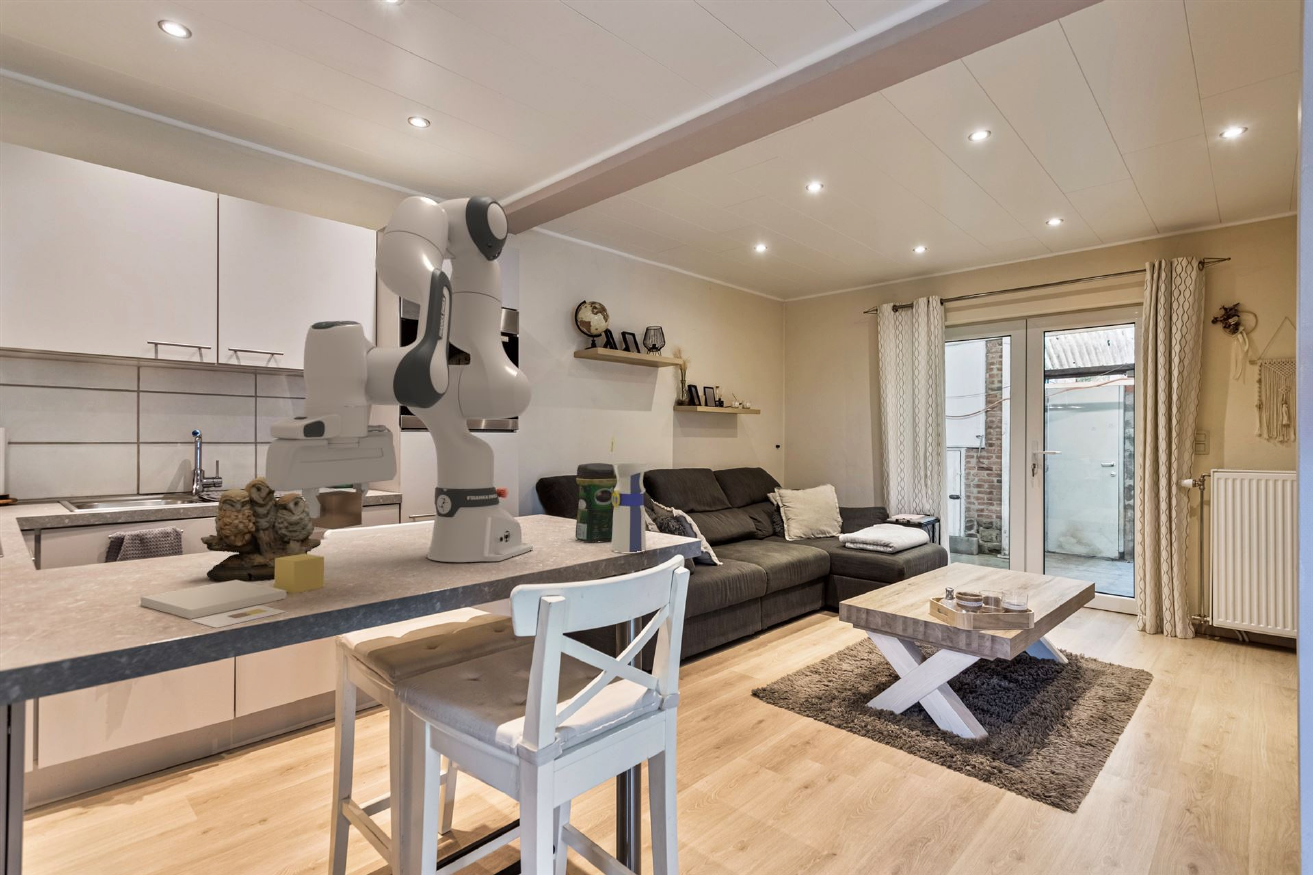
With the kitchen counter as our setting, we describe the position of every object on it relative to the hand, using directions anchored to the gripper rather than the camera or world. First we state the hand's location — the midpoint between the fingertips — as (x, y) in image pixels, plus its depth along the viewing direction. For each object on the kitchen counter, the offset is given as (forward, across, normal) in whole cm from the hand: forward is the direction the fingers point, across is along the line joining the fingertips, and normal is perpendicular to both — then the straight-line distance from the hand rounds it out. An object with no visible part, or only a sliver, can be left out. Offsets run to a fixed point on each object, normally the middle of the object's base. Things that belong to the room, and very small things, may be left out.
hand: (336, 514), depth 102 cm
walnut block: (+2, 0, 0) cm, 2 cm away
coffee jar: (+15, -66, +5) cm, 68 cm away
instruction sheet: (+12, +15, +1) cm, 19 cm away
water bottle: (+14, -58, +19) cm, 62 cm away
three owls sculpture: (+13, -2, -23) cm, 26 cm away
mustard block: (+12, +1, -8) cm, 15 cm away
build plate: (+12, +13, -10) cm, 20 cm away
